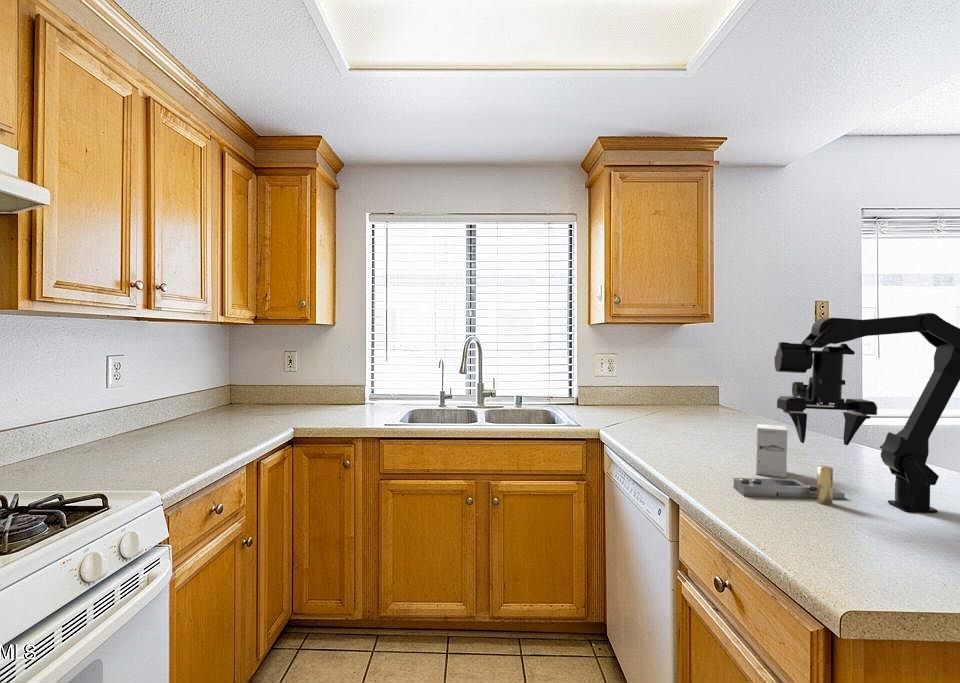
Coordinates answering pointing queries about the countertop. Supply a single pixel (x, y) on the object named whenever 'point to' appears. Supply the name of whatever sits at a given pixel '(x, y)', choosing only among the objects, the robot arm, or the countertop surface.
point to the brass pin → (825, 485)
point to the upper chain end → (768, 486)
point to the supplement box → (771, 450)
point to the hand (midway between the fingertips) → (823, 443)
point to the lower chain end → (812, 494)
